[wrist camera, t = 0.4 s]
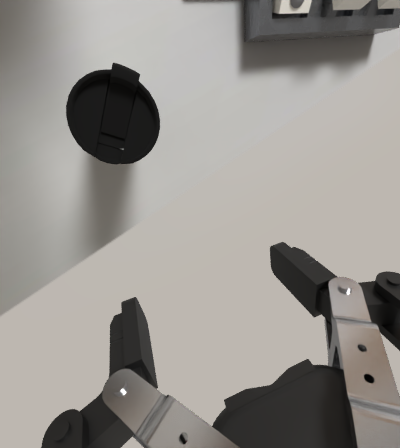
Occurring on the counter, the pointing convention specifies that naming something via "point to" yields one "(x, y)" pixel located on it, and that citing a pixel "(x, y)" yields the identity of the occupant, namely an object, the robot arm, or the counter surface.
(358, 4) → the rocker middle
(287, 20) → the power strip
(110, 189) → the counter surface
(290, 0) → the rocker
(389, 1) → the rocker
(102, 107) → the travel mug
